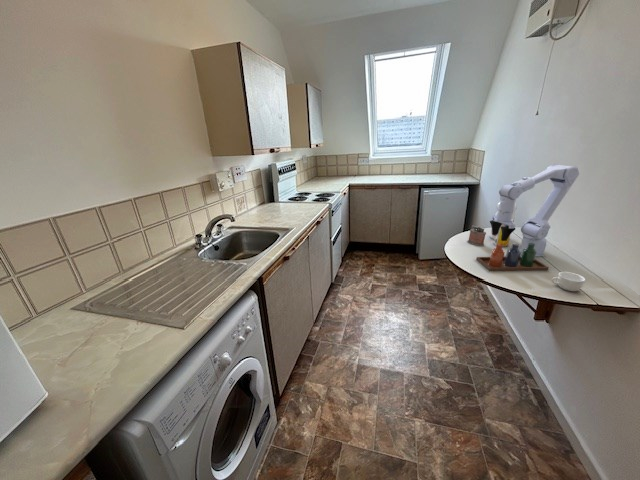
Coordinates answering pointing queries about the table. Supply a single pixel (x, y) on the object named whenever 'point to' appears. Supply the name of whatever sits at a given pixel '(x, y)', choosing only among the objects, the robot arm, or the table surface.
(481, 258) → the tray
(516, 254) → the slate-blue bottle
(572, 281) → the teacup
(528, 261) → the green bottle
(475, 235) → the lighter
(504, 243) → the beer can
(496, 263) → the terracotta bottle
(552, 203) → the robot arm
